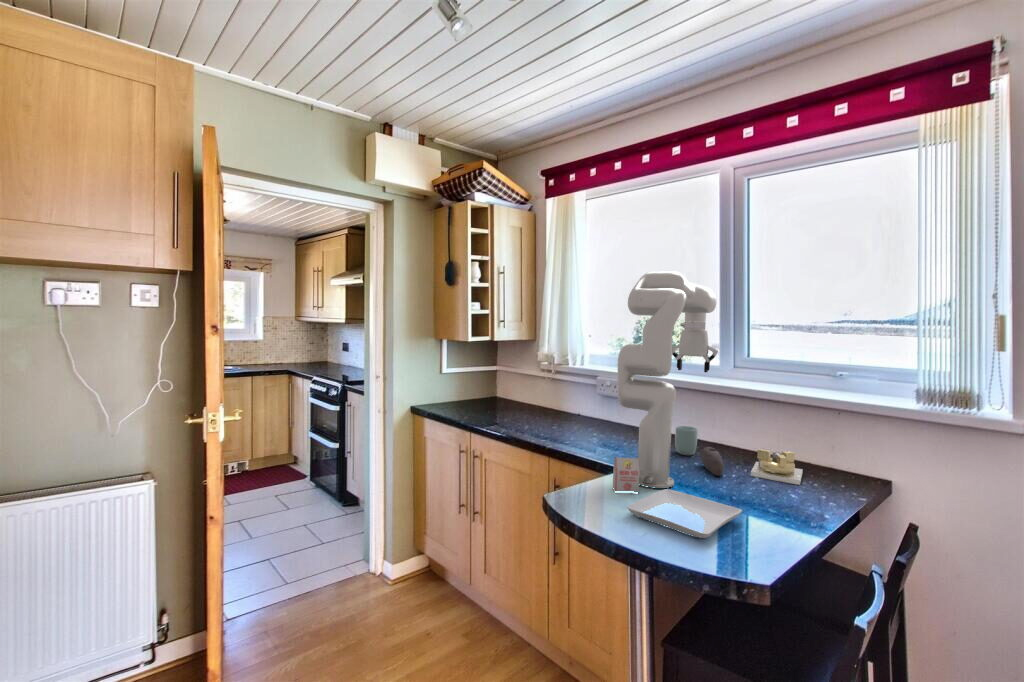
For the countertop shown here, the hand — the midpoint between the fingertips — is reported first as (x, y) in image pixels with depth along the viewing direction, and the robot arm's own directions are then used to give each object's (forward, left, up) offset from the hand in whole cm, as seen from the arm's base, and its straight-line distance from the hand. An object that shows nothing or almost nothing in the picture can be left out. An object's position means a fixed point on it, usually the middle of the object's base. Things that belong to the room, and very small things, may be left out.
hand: (692, 371), depth 186 cm
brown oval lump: (-21, -13, -32) cm, 40 cm away
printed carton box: (-58, +4, -32) cm, 66 cm away
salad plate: (-68, -15, -32) cm, 76 cm away
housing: (-11, -31, -31) cm, 45 cm away
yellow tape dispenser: (-11, -30, -29) cm, 44 cm away
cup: (-5, 0, -31) cm, 32 cm away
